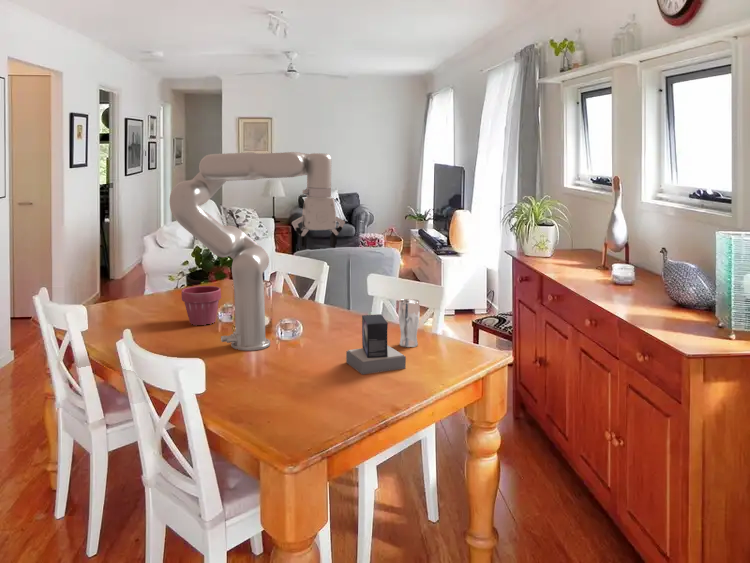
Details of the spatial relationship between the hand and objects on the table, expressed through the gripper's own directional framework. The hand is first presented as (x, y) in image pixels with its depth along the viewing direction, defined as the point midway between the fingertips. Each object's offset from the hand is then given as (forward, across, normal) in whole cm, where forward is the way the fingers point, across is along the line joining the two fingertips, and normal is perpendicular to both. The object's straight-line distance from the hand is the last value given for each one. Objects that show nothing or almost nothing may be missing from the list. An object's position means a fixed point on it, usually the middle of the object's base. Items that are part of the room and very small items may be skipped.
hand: (318, 247), depth 211 cm
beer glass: (+32, +29, -9) cm, 44 cm away
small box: (+29, +10, -24) cm, 39 cm away
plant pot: (+34, -29, +46) cm, 64 cm away
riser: (+32, +10, -24) cm, 42 cm away
